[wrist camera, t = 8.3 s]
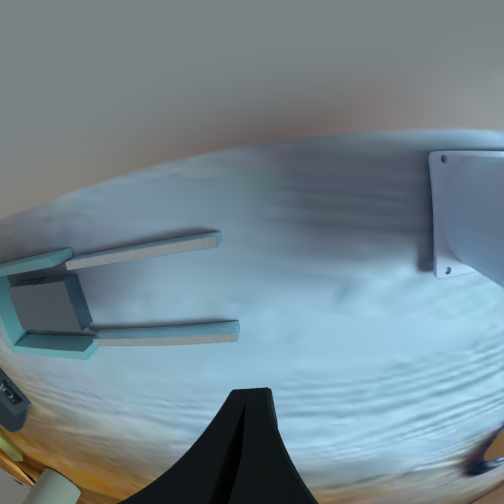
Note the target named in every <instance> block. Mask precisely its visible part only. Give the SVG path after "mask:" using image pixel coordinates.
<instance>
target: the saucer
mask: <svg viewBox="0 0 504 504" xmlns="http://www.w3.org/2000/svg"><path fill="white" fill-rule="evenodd" d="M0 448H1V449H2V450H3V451H4V452H5V453H6V454H7V455H8V456H9V457H10V458H11V459H12V460H13V461H23V454H22V451H21V450H20V449H19V448H18V447H17V446H16V445H15V444H14V443H13V442H12V441H11V440H10V439H9V438H8V437H7V436H6V435H5V434H4V433H3V431H2V430H1V429H0Z"/></svg>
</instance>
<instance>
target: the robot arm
mask: <svg viewBox="0 0 504 504" xmlns="http://www.w3.org/2000/svg"><path fill="white" fill-rule="evenodd" d="M442 155H443V157H444V163H443V162H442V161H441V156H442ZM429 168H430V178H431V189H432V202H433V223H434V269H433V272H434V275H435V277H437V278H438V279H444V278H449V277H453V276H458V275H462V274H466V273H471V272H475V271H478V272H479V273H481V274H482V275H484V276H486V277H487V278H489V279H490V280H492V281H493V282H495V283H497V284H498V285H500V286H501V287H503V288H504V151H433V152H431V153H430V154H429ZM447 267H448V271H447V272H445V269H446V268H447ZM118 504H318V502H317V501H316V500H315V498H314V497H313V495H312V494H311V492H310V491H309V489H308V488H307V487H306V485H305V484H304V482H303V480H302V479H301V477H300V475H299V474H298V472H297V470H296V468H295V466H294V464H293V463H292V461H291V459H290V457H289V455H288V452H287V450H286V448H285V446H284V443H283V441H282V438H281V436H280V433H279V430H278V424H277V418H276V412H275V407H274V402H273V396H272V391H271V389H269V388H268V387H266V388H253V389H236V390H232V391H231V392H230V394H229V396H228V397H227V399H226V401H225V402H224V404H223V405H222V407H221V408H220V410H219V411H218V413H217V414H216V416H215V417H214V419H213V420H212V422H211V423H210V424H209V426H208V427H207V428H206V430H205V431H204V432H203V434H202V435H201V436H200V437H199V438H198V440H197V441H196V442H195V443H194V444H193V445H192V447H191V448H190V449H189V450H188V451H187V452H186V453H185V454H184V455H183V456H182V457H181V458H180V459H179V460H178V461H177V462H176V463H175V464H174V465H173V466H172V467H171V468H170V469H168V470H167V471H166V472H165V473H164V474H162V475H161V476H160V477H159V478H157V479H156V480H155V481H154V482H152V483H151V484H149V485H148V486H147V487H145V488H143V489H142V490H140V491H139V492H137V493H135V494H134V495H132V496H130V497H129V498H127V499H125V500H123V501H122V502H120V503H118Z"/></svg>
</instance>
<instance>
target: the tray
mask: <svg viewBox="0 0 504 504" xmlns="http://www.w3.org/2000/svg"><path fill="white" fill-rule="evenodd" d="M71 257H73V254H72V250H71V248H66V249H62V250H57V251H53V252H49V253H44V254H40V255H36V256H31V257H27V258H23V259H19V260H15V261H11V262H7V263H3V264H0V324H1V326H2V329H3V331H4V333H5V335H6V338H7V340H8V342H9V344H10V347H11V349H12V351H13V352H19V353H26V354H34V355H42V356H51V357H61V358H72V359H86V360H88V359H89V358H90V357H91V355H92V354H93V353H94V352H95V351H96V350H97V349H98V348H99V347H100V346H95V345H94V343H93V340H92V338H93V337H94V336H76V335H41V334H28V332H27V330H25V329H22V326H21V324H20V322H19V319H18V317H17V314H16V311H15V309H14V306H13V303H12V301H11V298H10V295H9V292H8V289H7V288H8V287H10V284H9V280H8V277H7V275H12V274H17V273H23V272H28V271H33V270H39V269H44V268H50V267H54V266H56V265H58V264H60V263H62V262H63V261H65V260H67V259H69V258H71Z"/></svg>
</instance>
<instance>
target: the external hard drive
mask: <svg viewBox="0 0 504 504" xmlns="http://www.w3.org/2000/svg"><path fill="white" fill-rule="evenodd" d="M30 406H31V402H30V401H29V400H28V398H27V397H26V396H25V395H24V394H23V393H22V392H21V391H20V390H19V389H18V387H17V386H16V385H15V384H14V383H13V382H12V381H11V379H10V378H9V377H8V376H7V375H6V374H5V373H4V371H3V370H2V369H1V368H0V425H1V426H2V427H4V428H5V429H6V430H7V431H8V432H10V433H15V432H17V431H19V430H21V429H23V428H24V426H25V423H26V419H27V416H28V413H29V409H30Z"/></svg>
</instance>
